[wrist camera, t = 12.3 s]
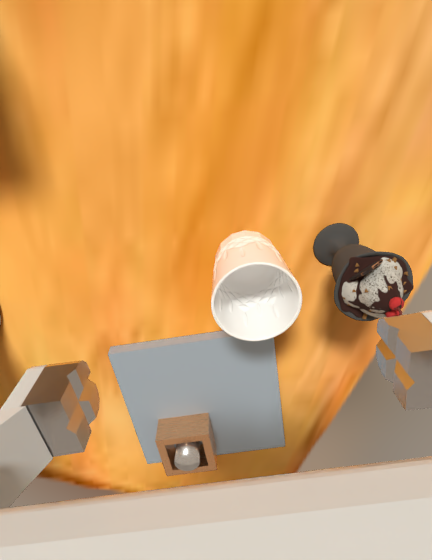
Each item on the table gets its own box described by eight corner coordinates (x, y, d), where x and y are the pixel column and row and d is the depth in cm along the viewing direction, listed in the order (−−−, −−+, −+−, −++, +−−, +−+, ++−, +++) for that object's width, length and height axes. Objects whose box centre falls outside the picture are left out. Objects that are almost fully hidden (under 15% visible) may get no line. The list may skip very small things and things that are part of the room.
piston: (179, 442, 51) (177, 472, 47) (174, 426, 50) (171, 455, 46) (202, 440, 51) (201, 469, 47) (197, 423, 50) (197, 452, 46)
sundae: (358, 274, 42) (429, 357, 28) (300, 269, 41) (345, 352, 28) (374, 218, 39) (462, 282, 25) (312, 212, 38) (368, 275, 25)
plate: (149, 454, 54) (147, 463, 53) (110, 346, 46) (107, 354, 44) (283, 437, 53) (285, 446, 52) (271, 323, 45) (272, 330, 43)
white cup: (196, 246, 40) (193, 289, 31) (261, 211, 38) (278, 246, 29) (231, 300, 43) (237, 354, 34) (292, 270, 41) (316, 317, 33)
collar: (169, 453, 52) (166, 476, 49) (158, 419, 49) (155, 441, 46) (216, 447, 52) (217, 469, 49) (208, 412, 49) (208, 434, 46)
